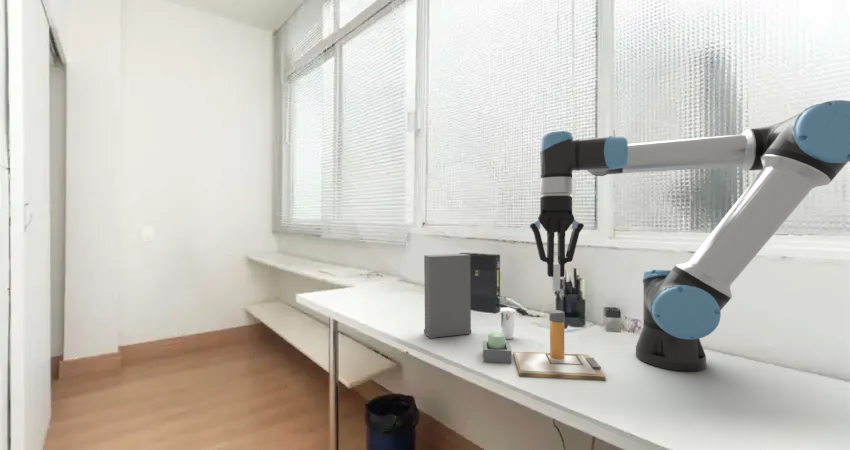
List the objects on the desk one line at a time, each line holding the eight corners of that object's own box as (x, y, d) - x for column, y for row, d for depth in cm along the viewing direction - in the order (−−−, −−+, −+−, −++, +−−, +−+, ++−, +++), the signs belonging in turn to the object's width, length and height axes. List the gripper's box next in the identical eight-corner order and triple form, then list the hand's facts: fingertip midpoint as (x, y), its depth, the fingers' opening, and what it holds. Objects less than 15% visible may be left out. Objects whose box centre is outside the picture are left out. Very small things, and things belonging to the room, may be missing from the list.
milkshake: (518, 340, 114) (518, 307, 114) (500, 339, 115) (499, 306, 115) (517, 335, 119) (517, 303, 118) (500, 334, 120) (499, 303, 119)
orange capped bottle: (563, 357, 98) (562, 310, 98) (566, 362, 94) (566, 313, 94) (548, 356, 98) (548, 310, 98) (551, 361, 95) (550, 313, 94)
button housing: (509, 353, 104) (509, 342, 104) (511, 362, 97) (511, 351, 97) (483, 352, 105) (483, 341, 105) (483, 361, 98) (483, 349, 98)
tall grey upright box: (463, 328, 127) (462, 253, 126) (471, 334, 121) (470, 255, 120) (423, 333, 122) (422, 255, 122) (429, 339, 116) (429, 256, 116)
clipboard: (588, 357, 100) (588, 352, 100) (606, 380, 86) (606, 373, 86) (513, 354, 102) (513, 349, 102) (518, 375, 89) (518, 370, 89)
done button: (504, 347, 102) (504, 333, 102) (505, 353, 98) (505, 338, 98) (488, 347, 103) (487, 332, 103) (488, 353, 99) (488, 337, 99)
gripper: (579, 196, 98) (579, 287, 99) (527, 196, 100) (527, 286, 101) (587, 194, 91) (587, 293, 91) (531, 194, 93) (530, 292, 93)
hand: (555, 289), depth 96 cm, fingers closed
